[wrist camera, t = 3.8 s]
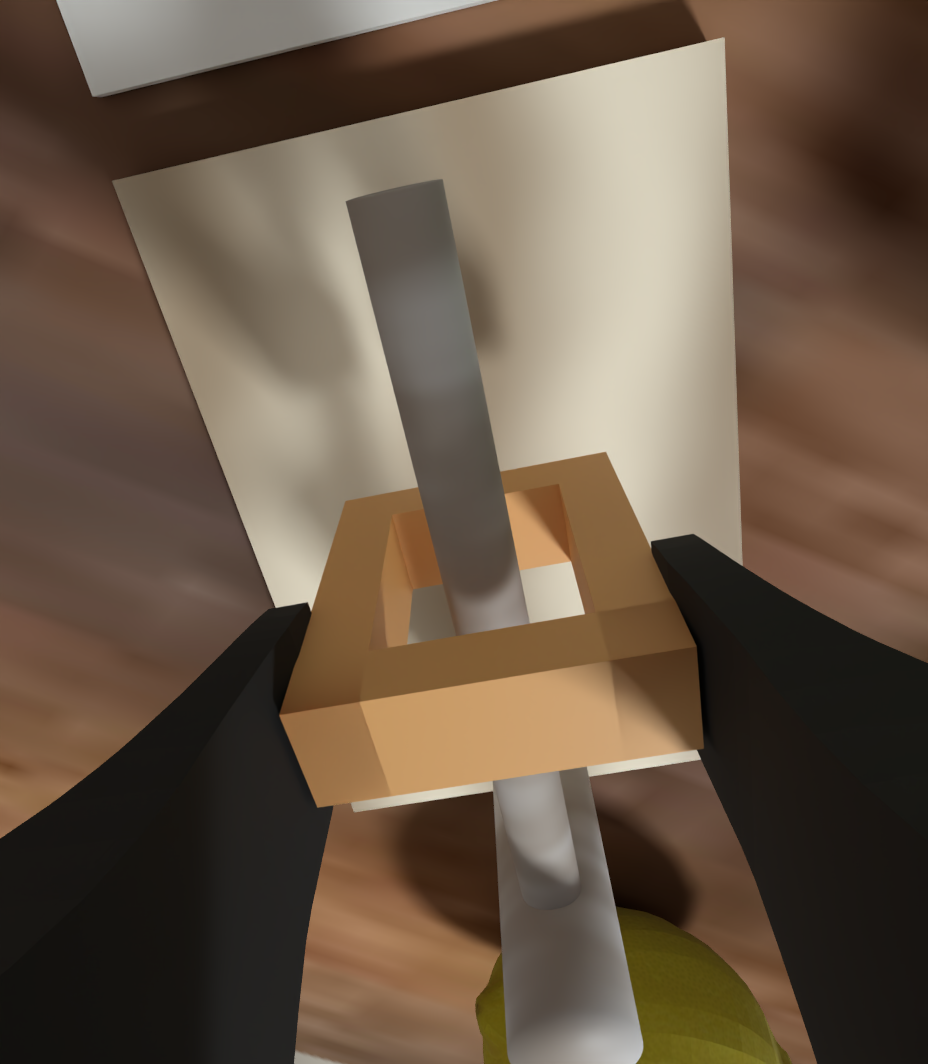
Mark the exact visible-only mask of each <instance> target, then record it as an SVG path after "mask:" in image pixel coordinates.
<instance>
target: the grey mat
mask: <svg viewBox="0 0 928 1064" xmlns="http://www.w3.org/2000/svg"><path fill="white" fill-rule="evenodd" d="M56 1H57V3H58V6H59V9H60V11H61V14H62V17H63V19H64V22H65V25H66V27H67V30H68V33H69V35H70V38H71V41H72V43H73V46H74V49H75V51H76V54H77V57H78V59H79V62H80V65H81V67H82V70H83V72H84V75H85V78H86V80H87V83H88V86H89V88H90V91H91V94H92V96H93V97H105V96H109V95H113V94H117V93H121V92H125V91H129V90H133V89H137V88H141V87H145V86H150V85H154V84H158V83H162V82H166V81H170V80H174V79H178V78H182V77H186V76H190V75H194V74H199V73H203V72H207V71H211V70H215V69H219V68H223V67H227V66H231V65H235V64H239V63H243V62H247V61H252V60H256V59H260V58H264V57H268V56H272V55H276V54H280V53H284V52H288V51H292V50H296V49H301V48H305V47H309V46H313V45H317V44H321V43H325V42H329V41H333V40H337V39H341V38H345V37H349V36H354V35H358V34H362V33H366V32H370V31H374V30H378V29H382V28H386V27H390V26H394V25H398V24H403V23H407V22H411V21H415V20H419V19H423V18H427V17H431V16H435V15H439V14H443V13H447V12H451V11H456V10H460V9H464V8H468V7H472V6H476V5H480V4H484V3H488V2H492V1H496V0H56Z"/></svg>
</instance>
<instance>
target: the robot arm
mask: <svg viewBox="0 0 928 1064" xmlns="http://www.w3.org/2000/svg"><path fill="white" fill-rule="evenodd" d="M651 551H652V555H653V557H654V559H655V562H656V564H657V566H658V568H659V570H660V572H661V575H662V577H663V579H664V581H665V583H666V585H667V588H668V590H669V592H670V593H671V595H672V597H673V598H674V600H675V601H676V603H677V605H678V607H679V610H680V612H681V614H682V616H683V618H684V620H685V623H686V625H687V627H688V629H689V631H690V633H691V635H692V638H693V640H694V642H695V644H696V646H697V659H698V672H699V686H700V700H701V714H702V728H703V742H704V749H698V750H697V751H698V754H699V756H700V758H701V760H702V762H703V764H704V767H705V769H706V771H707V773H708V775H709V777H710V780H711V782H712V784H713V786H714V788H715V790H716V793H717V795H718V797H719V799H720V801H721V803H722V805H723V808H724V810H725V812H726V814H727V816H728V818H729V821H730V823H731V825H732V827H733V829H734V831H735V834H736V836H737V838H738V840H739V842H740V844H741V846H742V849H743V851H744V854H745V856H746V859H747V861H748V863H749V866H750V868H751V871H752V873H753V876H754V878H755V881H756V883H757V886H758V889H759V892H760V895H761V898H762V901H763V903H764V906H765V909H766V912H767V915H768V918H769V921H770V924H771V926H772V929H773V932H774V935H775V938H776V941H777V944H778V947H779V949H780V952H781V955H782V958H783V961H784V964H785V967H786V970H787V973H788V976H789V979H790V982H791V985H792V988H793V991H794V994H795V997H796V1000H797V1003H798V1006H799V1009H800V1012H801V1015H802V1018H803V1021H804V1024H805V1027H806V1030H807V1033H808V1036H809V1039H810V1042H811V1045H812V1048H813V1051H814V1055H815V1058H816V1061H817V1064H928V663H926V662H924V661H921V660H919V659H917V658H914V657H912V656H910V655H907V654H905V653H903V652H900V651H898V650H896V649H893V648H891V647H889V646H886V645H884V644H882V643H879V642H877V641H875V640H873V639H871V638H869V637H867V636H865V635H862V634H860V633H858V632H856V631H854V630H852V629H850V628H848V627H846V626H845V625H843V624H841V623H839V622H837V621H835V620H833V619H831V618H829V617H827V616H826V615H824V614H822V613H820V612H818V611H816V610H814V609H812V608H811V607H809V606H807V605H805V604H804V603H802V602H800V601H798V600H797V599H795V598H793V597H791V596H790V595H788V594H786V593H785V592H783V591H781V590H780V589H778V588H776V587H775V586H773V585H771V584H770V583H768V582H767V581H765V580H763V579H762V578H760V577H759V576H757V575H756V574H754V573H752V572H751V571H749V570H748V569H746V568H745V567H743V566H742V565H740V564H739V563H737V562H736V561H734V560H733V559H731V558H730V557H728V556H727V555H725V554H724V553H722V552H721V551H719V550H718V549H716V548H715V547H713V546H712V545H710V544H709V543H707V542H706V541H704V540H703V539H701V538H700V537H698V536H697V535H695V534H689V535H683V536H677V537H672V538H666V539H660V540H655V541H651ZM311 615H312V612H311V610H310V607H309V604H308V602H306V603H300V604H295V605H289V606H283V607H278V608H272V609H268V610H267V611H266V612H265V613H264V614H262V615H261V616H260V617H259V618H258V619H257V620H256V621H255V622H253V623H252V624H251V625H250V626H249V627H248V628H247V629H246V630H245V631H244V632H243V633H242V634H241V635H240V636H239V637H238V638H237V639H236V640H235V641H234V642H233V643H232V644H231V645H230V646H229V647H228V648H227V649H226V650H225V651H224V652H223V653H222V654H221V655H220V656H219V657H218V658H217V659H216V660H215V661H214V662H213V663H212V664H211V665H210V666H209V667H208V668H207V669H206V670H205V671H204V672H203V673H202V674H201V675H200V676H199V677H198V678H197V679H196V680H195V681H194V682H193V683H192V684H191V685H190V686H189V687H188V688H187V689H186V690H185V691H184V692H183V693H182V694H181V695H180V696H179V697H178V698H176V699H175V700H174V701H173V702H172V703H171V704H170V705H169V706H168V707H167V708H166V709H164V710H163V711H162V712H161V713H160V714H159V715H158V716H157V717H156V718H155V719H154V720H152V721H151V722H150V723H149V724H148V725H147V726H146V727H145V728H144V729H143V730H142V731H140V732H139V733H138V734H137V735H136V736H135V737H134V738H133V739H132V740H131V741H129V742H128V743H127V744H126V745H125V746H124V747H122V748H121V749H120V750H119V751H118V752H117V753H115V754H114V755H113V756H112V757H111V758H109V759H108V760H107V761H106V762H104V763H103V764H102V765H101V766H100V767H98V768H97V769H96V770H95V771H93V772H92V773H91V774H89V775H88V776H87V777H86V778H84V779H83V780H82V781H80V782H79V783H78V784H77V785H75V786H74V787H73V788H71V789H70V790H69V791H68V792H66V793H65V794H64V795H62V796H61V797H60V798H58V799H57V800H56V801H54V802H53V803H51V804H50V805H49V806H47V807H46V808H44V809H43V810H41V811H40V812H39V813H37V814H36V815H34V816H33V817H31V818H30V819H28V820H27V821H25V822H24V823H22V824H21V825H20V826H18V827H17V828H15V829H14V830H12V831H11V832H9V833H8V834H6V835H5V836H3V837H2V838H1V839H0V1064H294V1056H295V1045H296V1033H297V1022H298V1011H299V1002H300V992H301V983H302V974H303V965H304V956H305V946H306V939H307V933H308V927H309V921H310V915H311V909H312V904H313V899H314V895H315V890H316V885H317V881H318V876H319V871H320V867H321V862H322V857H323V853H324V848H325V843H326V839H327V834H328V829H329V825H330V820H331V815H332V810H333V806H334V805H332V806H325V807H319V808H317V805H316V803H315V800H314V798H313V796H312V793H311V791H310V788H309V786H308V784H307V781H306V779H305V776H304V774H303V771H302V769H301V767H300V764H299V762H298V759H297V757H296V755H295V752H294V750H293V747H292V745H291V743H290V740H289V738H288V735H287V733H286V730H285V728H284V726H283V723H282V721H281V718H280V716H279V714H280V711H281V708H282V704H283V701H284V698H285V695H286V691H287V688H288V685H289V682H290V679H291V675H292V672H293V669H294V666H295V663H296V661H297V659H298V657H299V654H300V650H301V647H302V644H303V641H304V637H305V634H306V631H307V628H308V624H309V621H310V618H311Z"/></svg>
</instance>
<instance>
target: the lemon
mask: <svg viewBox="0 0 928 1064" xmlns="http://www.w3.org/2000/svg"><path fill="white" fill-rule="evenodd" d="M615 907H616V906H615ZM616 912H617V917H618V922H619V927H620V932H621V936H622V941H623V946H624V951H625V956H626V961H627V966H628V971H629V976H630V981H631V985H632V990H633V995H634V1000H635V1005H636V1010H637V1015H638V1020H639V1025H640V1030H641V1035H642V1039H643V1052H642V1054H641V1057H640V1058H639V1060H638V1061H637V1063H636V1064H792V1062H791V1060H790V1058H789V1056H788V1054H787V1052H786V1051H784V1050H783V1049H782V1048H781V1047H780V1045H779V1044H778V1043H777V1042H776V1040H775V1038H774V1036H773V1034H772V1032H771V1030H770V1027H769V1025H768V1023H767V1020H766V1018H765V1016H764V1013H763V1011H762V1010H761V1008H760V1006H759V1004H758V1002H757V1001H756V999H755V997H754V996H753V994H752V993H751V991H750V989H749V988H748V986H747V985H746V983H745V982H744V981H743V980H742V979H741V978H740V977H739V975H738V974H737V973H736V972H735V971H734V970H733V969H732V968H731V967H730V966H729V965H728V964H727V963H726V962H725V961H724V960H723V959H722V958H721V957H720V956H719V955H718V954H716V953H715V952H714V951H713V950H712V949H711V948H710V947H709V946H708V945H706V944H705V943H703V942H702V941H700V940H699V939H697V938H696V937H694V936H693V935H691V934H689V933H687V932H685V931H683V930H681V929H680V928H678V927H676V926H675V925H673V924H671V923H669V922H668V921H666V920H664V919H662V918H660V917H657V916H655V915H652V914H650V913H647V912H643V911H638V910H632V909H627V908H621V907H616ZM475 1006H476V1017H477V1021H478V1025H479V1029H480V1032H481V1034H482V1036H483V1056H484V1064H511V1063H510V1061H509V1059H508V1054H507V1037H506V1019H505V1000H504V982H503V963H502V953H501V954H500V956H499V957H498V959H497V961H496V963H495V966H494V968H493V971H492V974H491V977H490V980H489V983H488V985H487V986H486V988H485V989H484V990H483V991H482V992H481V994H480V995H479V996H478V997H477V999H476V1004H475Z"/></svg>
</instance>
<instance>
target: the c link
mask: <svg viewBox="0 0 928 1064" xmlns="http://www.w3.org/2000/svg"><path fill="white" fill-rule="evenodd" d="M500 474H501V479H502V484H503V489H504V494H505V499H506V504H507V509H508V514H509V519H510V525H511V530H512V535H513V540H514V545H515V550H516V555H517V560H518V565H519V570H525V569H531V568H536V567H542V566H548V565H553V564H559V563H565V562H570V561H571V563H572V567H573V571H574V574H575V578H576V582H577V586H578V589H579V593H580V597H581V601H582V605H583V608H584V612H585V614H583V615H577V616H571V617H565V618H559V619H553V620H548V621H542V622H536V623H530V624H524V625H518V626H512V627H507V628H501V629H495V630H489V631H483V632H477V633H471V634H466V635H460V636H454V637H448V638H442V639H436V640H430V641H425V642H419V643H413V644H407V642H408V632H409V622H410V612H411V602H412V592H413V589H418V588H423V587H429V586H435V585H440V584H443V582H442V579H441V575H440V571H439V567H438V563H437V559H436V555H435V551H434V547H433V543H432V539H431V535H430V531H429V527H428V524H427V520H426V516H425V512H424V508H423V504H422V500H421V496H420V492H419V488H418V487H416V488H411V489H406V490H401V491H395V492H390V493H385V494H379V495H374V496H369V497H364V498H358V499H353V500H348V501H345V504H344V507H343V510H342V513H341V517H340V520H339V523H338V526H337V530H336V533H335V536H334V539H333V543H332V546H331V549H330V552H329V556H328V559H327V562H326V565H325V569H324V572H323V575H322V578H321V581H320V585H319V588H318V591H317V594H316V598H315V601H314V604H313V607H312V611H311V612H312V615H311V618H310V621H309V624H308V628H307V631H306V634H305V637H304V641H303V644H302V647H301V650H300V654H299V657H298V659H297V661H296V663H295V666H294V669H293V672H292V675H291V679H290V682H289V685H288V688H287V691H286V695H285V698H284V701H283V704H282V708H281V711H280V714H279V716H280V718H281V721H282V723H283V726H284V728H285V730H286V733H287V735H288V738H289V740H290V743H291V745H292V747H293V750H294V752H295V755H296V757H297V759H298V762H299V764H300V767H301V769H302V771H303V774H304V776H305V779H306V781H307V784H308V786H309V788H310V791H311V793H312V796H313V798H314V800H315V803H316V805H317V808H319V807H325V806H332V805H338V804H345V803H352V802H358V801H365V800H371V799H378V798H384V797H391V796H397V795H404V794H410V793H417V792H423V791H430V790H437V789H443V788H450V787H456V786H463V785H469V784H476V783H482V782H489V781H495V780H502V779H509V778H515V777H522V776H528V775H535V774H541V773H548V772H554V771H561V770H567V769H574V768H580V767H587V766H594V765H600V764H607V763H613V762H620V761H626V760H633V759H639V758H646V757H652V756H659V755H666V754H672V753H679V752H685V751H692V750H698V749H704V742H703V728H702V714H701V700H700V686H699V672H698V659H697V646H696V644H695V642H694V640H693V638H692V635H691V633H690V631H689V629H688V627H687V625H686V623H685V620H684V618H683V616H682V614H681V612H680V610H679V607H678V605H677V603H676V601H675V600H674V598H673V597H672V595H671V593H670V592H669V590H668V588H667V585H666V583H665V581H664V579H663V577H662V575H661V572H660V570H659V568H658V566H657V564H656V562H655V559H654V557H653V555H652V551H651V547H650V545H649V543H648V541H647V539H646V537H645V535H644V532H643V530H642V528H641V526H640V524H639V522H638V519H637V517H636V515H635V513H634V511H633V509H632V507H631V504H630V502H629V500H628V498H627V496H626V494H625V492H624V489H623V487H622V485H621V483H620V481H619V479H618V477H617V474H616V472H615V470H614V468H613V466H612V464H611V462H610V459H609V457H608V455H607V453H606V452H601V453H596V454H591V455H585V456H580V457H575V458H570V459H564V460H559V461H554V462H548V463H543V464H538V465H533V466H527V467H522V468H517V469H512V470H506V471H501V472H500Z"/></svg>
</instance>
